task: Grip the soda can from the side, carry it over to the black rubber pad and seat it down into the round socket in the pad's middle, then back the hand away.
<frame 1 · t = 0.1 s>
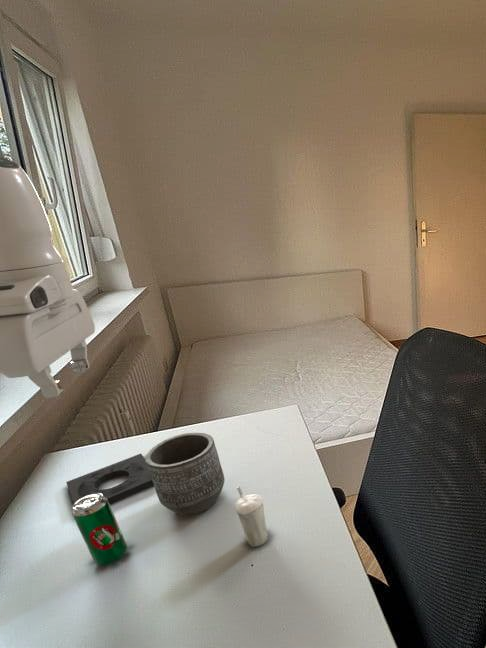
hand: (69, 382, 65), 33 cm above the table, tool pointing down, fingers open, 8 cm apart
planter: (197, 502, 90), on the table
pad: (114, 485, 97), on the table
milkshake: (257, 539, 79), on the table
soda can: (112, 557, 77), on the table
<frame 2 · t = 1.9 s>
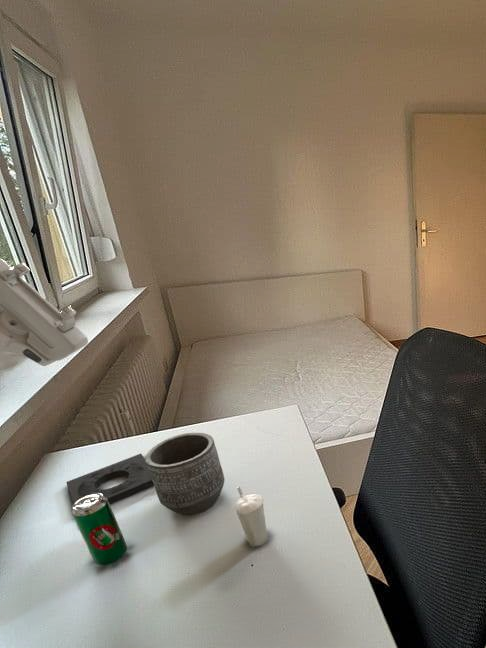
hand: (47, 289, 77), 43 cm above the table, tool pointing upward, fingers open, 8 cm apart
nothing on the table moved.
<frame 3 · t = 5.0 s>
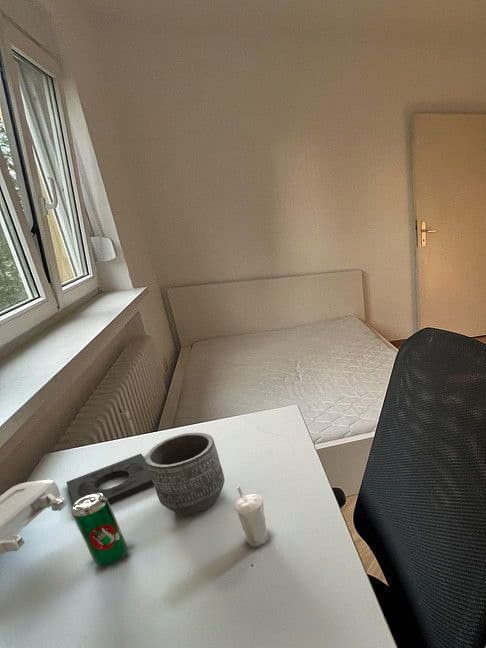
hand: (42, 522, 75), 7 cm above the table, tool horizontal, fingers open, 8 cm apart
nothing on the table moved.
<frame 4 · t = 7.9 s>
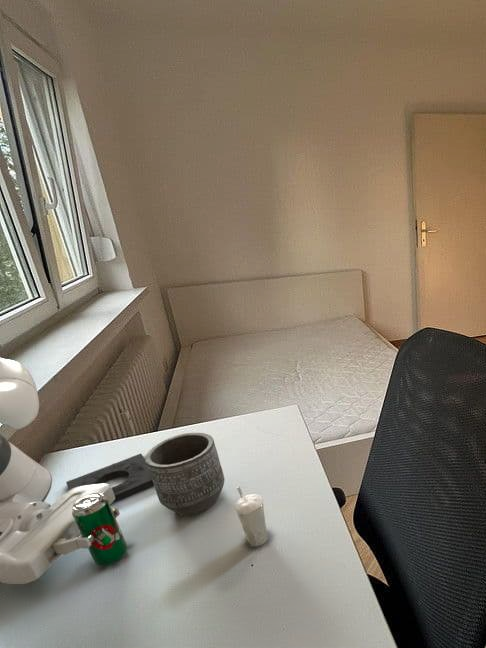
hand: (104, 526, 74), 7 cm above the table, tool horizontal, fingers closed on soda can, 5 cm apart
soda can: (112, 557, 77), on the table, touching gripper
everything else where it was.
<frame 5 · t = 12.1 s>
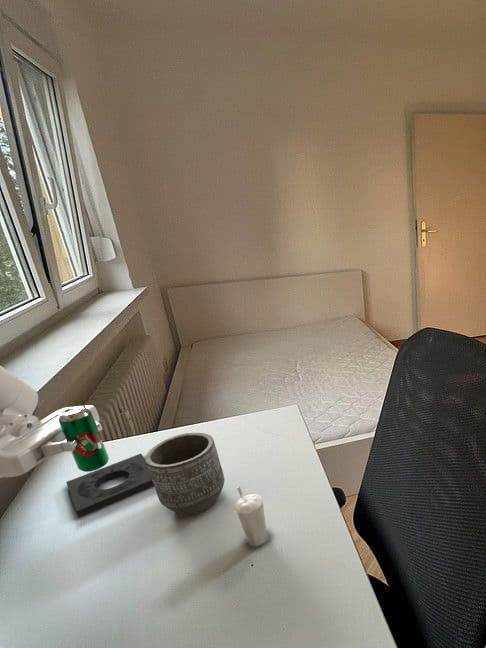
hand: (87, 436, 83), 17 cm above the table, tool horizontal, fingers closed on soda can, 5 cm apart
soda can: (95, 466, 86), point 10 cm above the table, touching gripper
everything else where it was.
when the fingers open (7 cm above the table, at t = 16.5 s): soda can stays where it is, resting in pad.
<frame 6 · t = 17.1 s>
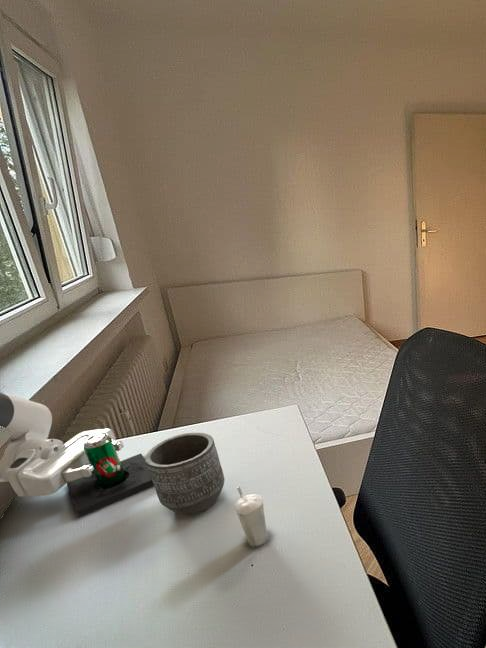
hand: (107, 457, 94), 7 cm above the table, tool horizontal, fingers open, 8 cm apart
soda can: (114, 485, 97), resting in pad
everything else where it was.
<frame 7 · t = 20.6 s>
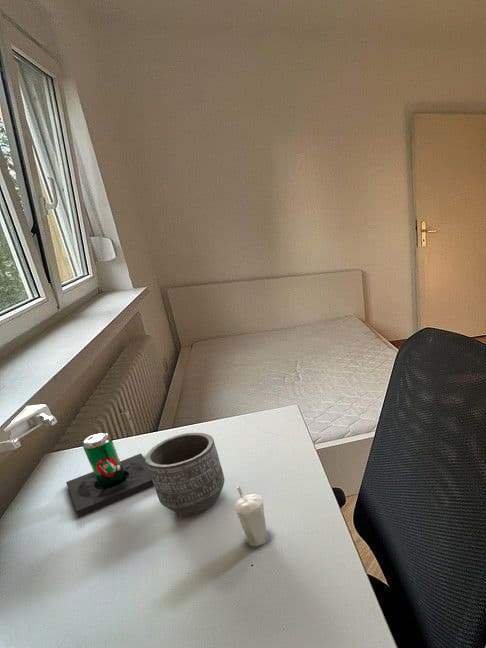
hand: (36, 432, 92), 14 cm above the table, tool horizontal, fingers open, 8 cm apart
nothing on the table moved.
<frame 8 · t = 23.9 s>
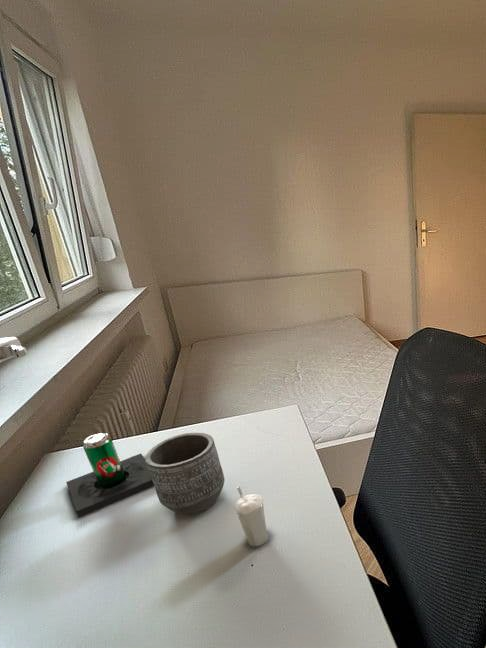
hand: (3, 360, 85), 30 cm above the table, tool horizontal, fingers open, 8 cm apart
nothing on the table moved.
at the end: soda can 0.1 cm off-centre in the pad, point 0.0 cm above the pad's base; soda can tilted 0°; the gripper is holding nothing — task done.
